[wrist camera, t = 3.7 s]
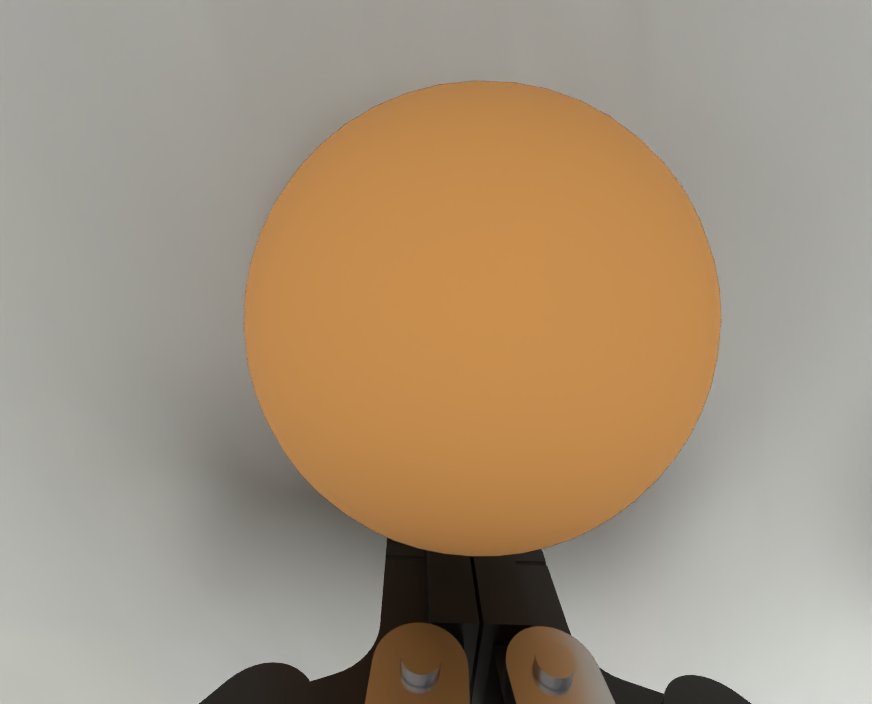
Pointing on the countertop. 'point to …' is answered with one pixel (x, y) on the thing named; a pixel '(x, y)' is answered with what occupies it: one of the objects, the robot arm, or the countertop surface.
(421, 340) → the ball
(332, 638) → the countertop surface
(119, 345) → the countertop surface
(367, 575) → the countertop surface
